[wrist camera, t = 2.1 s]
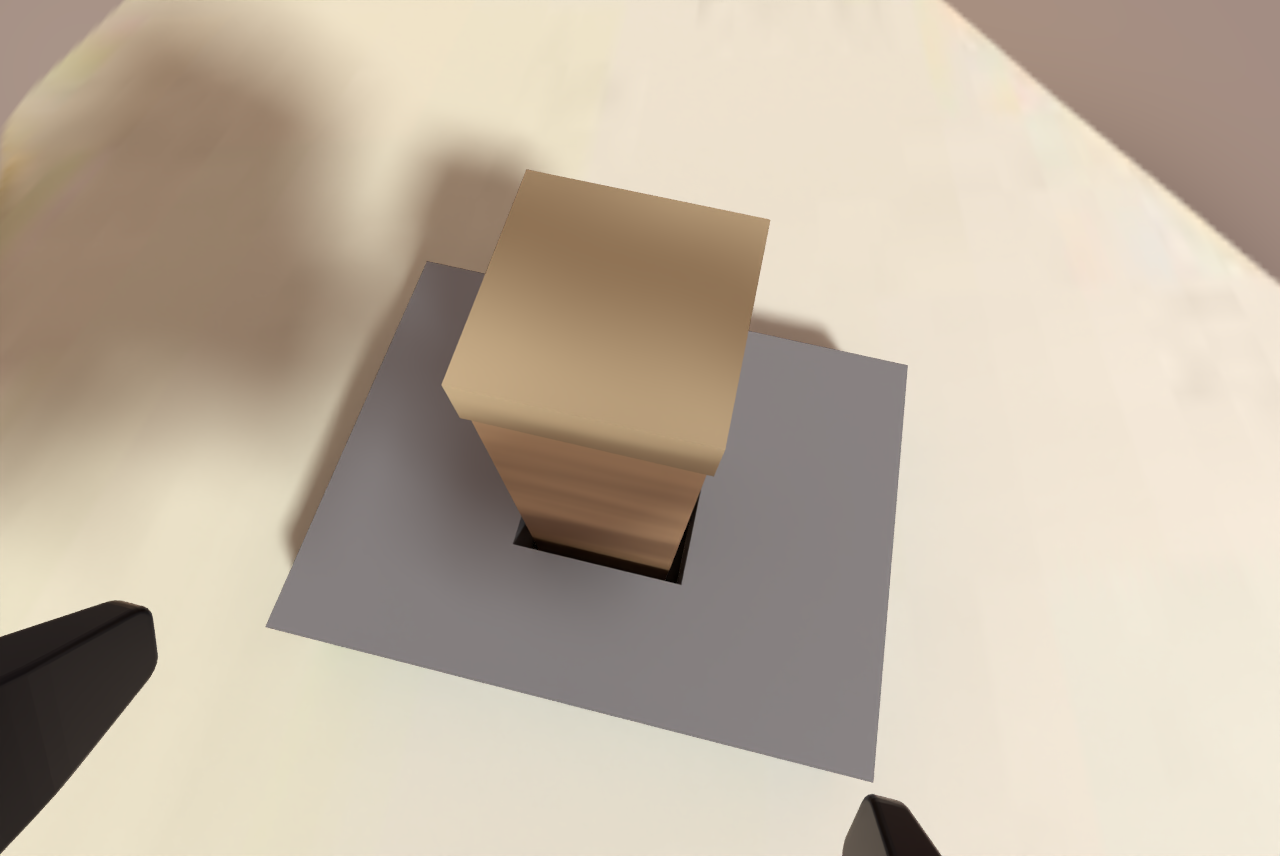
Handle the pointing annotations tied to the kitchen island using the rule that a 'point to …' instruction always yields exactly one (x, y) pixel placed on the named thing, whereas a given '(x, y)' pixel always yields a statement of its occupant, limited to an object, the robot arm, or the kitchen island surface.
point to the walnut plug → (608, 363)
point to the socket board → (617, 600)
